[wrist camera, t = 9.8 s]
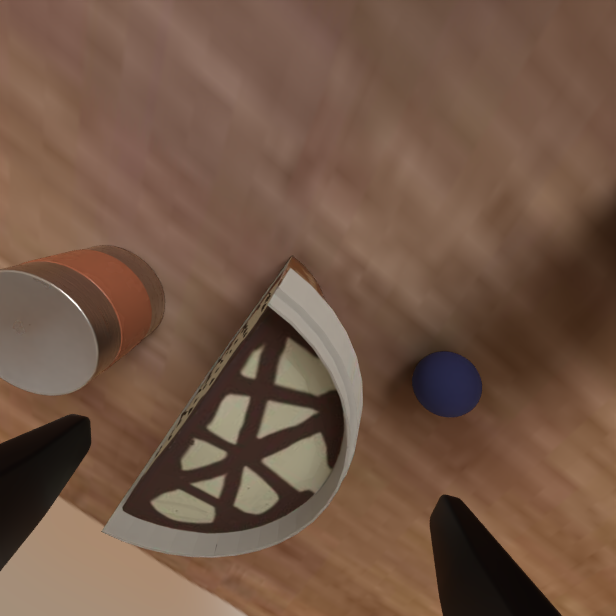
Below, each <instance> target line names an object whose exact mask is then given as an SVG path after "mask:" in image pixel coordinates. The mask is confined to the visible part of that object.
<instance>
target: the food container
mask: <svg viewBox="0 0 616 616" xmlns="http://www.w3.org/2000/svg"><path fill="white" fill-rule="evenodd" d="M362 406H363V394H362V378H361V374H360V369H359V365H358V360H357V356H356V354H355V351H354V349H353V347H352V344H351V342H350V339H349V337H348V334H347V332H346V331H345V329H344V327H343V326H342V324H341V323H340V321H339V319H338V318H337V316H336V315H335V313H334V311H333V310H332V308H331V307H330V306H329V305H328V304H327V303H326V302H325V298H324V296H323V293H322V291H321V289H320V286H319V285H318V283H317V282H316V280H315V279H314V277H313V275H312V274H311V273H310V272H309V271H308V270H307V269H306V267H305V266H304V265H303V264H302V263H300V262H299V261H298V260H297V259H296V258H294V257H293V256H291V258H290V259H289V261H288V262H287V263H286V265H285V266H284V268H283V269H282V270H281V272H280V273H279V275H278V276H277V277H276V279H275V280H274V281H273V283H272V284H271V286H270V287H269V288H268V290H267V291H266V293H265V294H264V295H263V297H262V298H261V300H260V301H259V302H258V304H257V305H256V307H255V308H254V309H253V311H252V312H251V314H250V315H249V316H248V318H247V319H246V320H245V322H244V323H243V325H242V326H241V327H240V329H239V330H238V332H237V333H236V334H235V336H234V337H233V339H232V340H231V341H230V343H229V344H228V346H227V347H226V348H225V350H224V351H223V353H222V354H221V355H220V357H219V358H218V360H217V361H216V362H215V364H214V365H213V366H212V368H211V369H210V371H209V372H208V374H207V375H206V377H205V378H204V380H203V381H202V383H201V384H200V386H199V387H198V389H197V390H196V392H195V393H194V395H193V396H192V397H191V399H190V400H189V402H188V403H187V405H186V406H185V408H184V409H183V411H182V412H181V414H180V415H179V417H178V418H177V420H176V421H175V423H174V424H173V426H172V427H171V429H170V430H169V432H168V433H167V435H166V436H165V438H164V439H163V441H162V442H161V444H160V445H159V447H158V448H157V449H156V451H155V452H154V454H153V455H152V457H151V458H150V460H149V461H148V463H147V464H146V466H145V467H144V469H143V470H142V472H141V473H140V475H139V476H138V478H137V479H136V481H135V482H134V484H133V485H132V487H131V488H130V489H129V490H128V492H127V493H126V495H125V496H124V498H123V499H122V501H121V502H120V504H119V505H118V507H117V508H116V510H115V512H114V513H113V515H112V516H111V518H110V519H109V521H108V522H107V524H106V525H105V527H104V528H103V530H102V532H103V533H105V534H108V535H110V536H112V537H114V538H116V539H119V540H121V541H123V542H126V543H129V544H132V545H135V546H138V547H141V548H144V549H148V550H153V551H157V552H161V553H166V554H172V555H179V556H187V557H225V556H236V555H241V554H246V553H251V552H255V551H259V550H262V549H265V548H268V547H271V546H273V545H276V544H279V543H281V542H283V541H284V540H286V539H288V538H290V537H292V536H294V535H296V534H298V533H299V532H300V531H302V530H303V529H304V528H306V527H307V526H308V525H310V524H311V523H312V522H314V520H315V519H316V518H317V517H318V516H319V515H320V514H321V513H322V512H323V511H324V510H325V509H326V508H327V507H328V505H329V504H330V502H331V500H332V499H333V497H334V496H335V494H336V492H337V491H338V489H339V487H340V484H341V482H342V481H343V479H344V477H345V476H346V474H347V471H348V469H349V466H350V464H351V461H352V458H353V456H354V452H355V446H356V441H357V436H358V430H359V425H360V419H361V412H362Z"/></svg>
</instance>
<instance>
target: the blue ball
mask: <svg viewBox="0 0 616 616" xmlns="http://www.w3.org/2000/svg"><path fill="white" fill-rule="evenodd" d="M412 386H413V390H414V393H415V395H416V397H417V399H418V401H419V402H420V403H421V404H422V405H423V406H424V407H425V408H426V409H427V410H429V411H430V412H432V413H434V414H436V415H439V416H443V417H458V416H462V415H464V414H466V413H468V412H470V411H471V410H472V409H473V408H474V407H475V406H476V405H477V403H478V402H479V399H480V397H481V393H482V381H481V378H480V375H479V373H478V371H477V369H476V368H475V366H474V365H473V364H472V363H471V362H470V361H469V360H467V359H466V358H464V357H463V356H461V355H459V354H456V353H453V352H445V351H442V352H435V353H432V354H430V355H428V356H426V357H424V358H423V359H422V360H421V361H420V362H419V363H418V364H417V366H416V368H415V370H414V373H413V377H412Z"/></svg>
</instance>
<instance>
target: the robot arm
mask: <svg viewBox="0 0 616 616" xmlns="http://www.w3.org/2000/svg"><path fill="white" fill-rule="evenodd" d="M90 446H91V427H90V420H89V418H88V417H85V416H81V415H76V414H70V415H67V416H65V417H62V418H60V419H58V420H55V421H53V422H51V423H48V424H46V425H43V426H41V427H39V428H36V429H34V430H32V431H29V432H27V433H25V434H22V435H20V436H17V437H15V438H13V439H10V440H8V441H6V442H3V443H1V444H0V571H1V570H2V568H3V567H4V566H5V565H6V563H7V562H8V561H9V560H10V558H11V557H12V556H13V555H14V553H15V552H16V551H17V550H18V548H19V547H20V546H21V545H22V543H23V542H24V541H25V540H26V538H27V537H28V536H29V535H30V534H31V532H32V531H33V530H34V528H35V527H36V526H37V525H38V523H39V522H40V521H41V520H42V518H43V517H44V516H45V514H46V513H47V511H48V510H49V509H50V507H51V506H52V504H53V503H54V501H55V500H56V498H57V497H58V496H59V494H60V493H61V491H62V490H63V488H64V487H65V485H66V484H67V482H68V481H69V479H70V478H71V476H72V475H73V473H74V472H75V470H76V469H77V467H78V466H79V464H80V463H81V461H82V460H83V458H84V457H85V455H86V454H87V452H88V450H89V448H90ZM430 532H431V539H432V547H433V554H434V562H435V569H436V577H437V584H438V591H439V598H440V603H441V608H442V613H443V616H562V615H561V614H560V613H559V612H558V611H557V609H556V608H555V607H554V606H553V605H552V604H551V603H550V601H549V600H548V599H547V598H546V597H545V596H544V594H543V593H542V592H541V591H540V590H539V589H538V588H537V586H536V585H535V584H534V583H533V582H532V581H531V579H530V578H529V577H528V576H527V575H526V574H525V573H524V571H523V570H522V569H521V568H520V567H519V566H518V565H517V563H516V562H515V561H514V560H513V559H512V558H511V556H510V555H509V554H508V553H507V552H506V551H505V550H504V548H503V547H502V546H501V545H500V544H499V543H498V542H497V540H496V539H495V538H494V537H493V536H492V535H491V533H490V532H489V531H488V530H487V529H486V528H485V527H484V525H483V524H482V523H481V522H480V521H479V520H478V518H477V517H476V516H475V515H474V514H473V513H472V512H471V510H470V509H469V508H468V507H467V506H466V505H465V504H464V502H463V501H462V500H461V499H459V498H457V497H453V496H449V495H442V496H441V497H440V498H439V500H438V502H437V504H436V506H435V508H434V510H433V512H432V514H431V517H430Z"/></svg>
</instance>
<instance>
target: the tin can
mask: <svg viewBox="0 0 616 616" xmlns="http://www.w3.org/2000/svg"><path fill="white" fill-rule="evenodd" d="M164 309H165V298H164V292H163V289H162V286H161V283H160V281H159V279H158V278H157V276H156V274H155V273H154V271H153V270H152V269H151V268H150V267H149V266H148V264H147V263H145V262H144V261H143V260H142V259H141V258H139V257H138V256H137V255H135V254H133V253H131V252H129V251H127V250H125V249H122V248H119V247H115V246H106V245H102V246H95V247H91V248H86V249H82V250H74V251H70V252H65V253H61V254H57V255H53V256H49V257H44V258H40V259H36V260H32V261H28V262H24V263H22V264H20V265H16V266H12V267H8V268H4V269H0V377H1V378H2V379H3V380H5V381H7V382H8V383H10V384H12V385H14V386H16V387H18V388H20V389H23V390H25V391H28V392H32V393H35V394H41V395H50V396H55V395H64V394H69V393H72V392H74V391H77V390H79V389H80V388H82V387H83V386H85V385H86V384H87V383H89V382H90V381H91V380H92V379H94V378H95V377H96V376H97V375H99V374H100V373H101V372H103V371H105V370H106V369H108V368H109V367H110V366H112V365H113V364H114V363H115V362H116V361H118V360H119V359H120V358H121V357H123V356H124V355H125V354H126V353H128V352H129V351H130V350H131V349H133V348H134V347H135V346H136V345H138V344H139V343H140V342H141V341H142V340H143V339H144V338H145V337H146V336H147V335H149V334H150V333H151V332H152V331H154V330H155V329H156V328H157V326H158V325H159V323H160V322H161V320H162V317H163V314H164Z"/></svg>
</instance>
